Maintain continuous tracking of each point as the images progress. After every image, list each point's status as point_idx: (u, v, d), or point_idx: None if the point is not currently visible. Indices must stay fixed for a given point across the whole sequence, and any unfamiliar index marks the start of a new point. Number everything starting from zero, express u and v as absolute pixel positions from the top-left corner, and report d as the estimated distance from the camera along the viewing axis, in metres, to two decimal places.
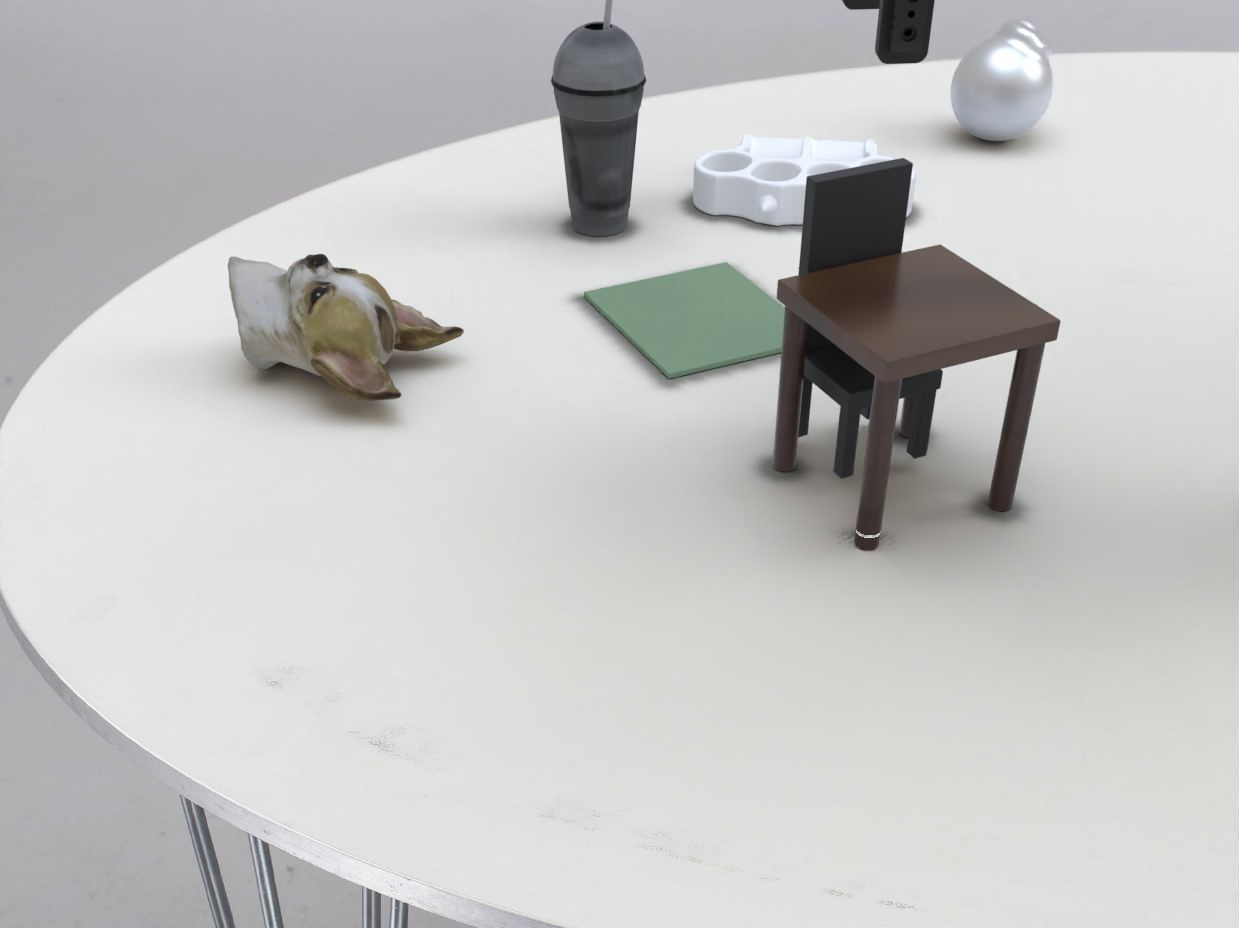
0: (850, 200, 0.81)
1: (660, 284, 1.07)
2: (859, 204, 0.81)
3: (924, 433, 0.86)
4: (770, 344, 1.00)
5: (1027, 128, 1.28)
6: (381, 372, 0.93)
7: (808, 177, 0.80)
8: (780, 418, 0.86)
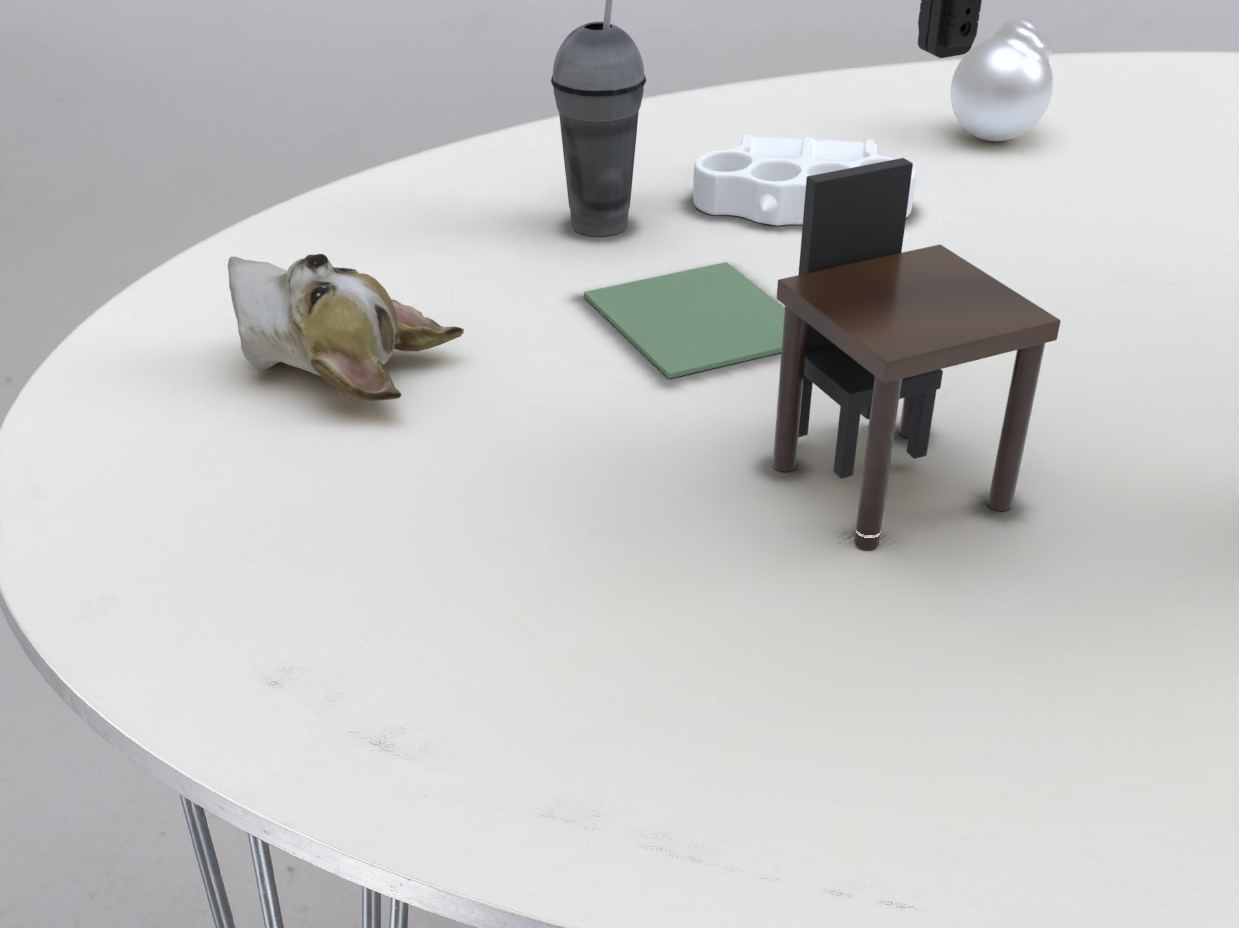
0: (850, 200, 0.81)
1: (660, 284, 1.07)
2: (859, 204, 0.81)
3: (924, 433, 0.86)
4: (770, 344, 1.00)
5: (1027, 128, 1.28)
6: (381, 372, 0.93)
7: (808, 177, 0.80)
8: (780, 418, 0.86)
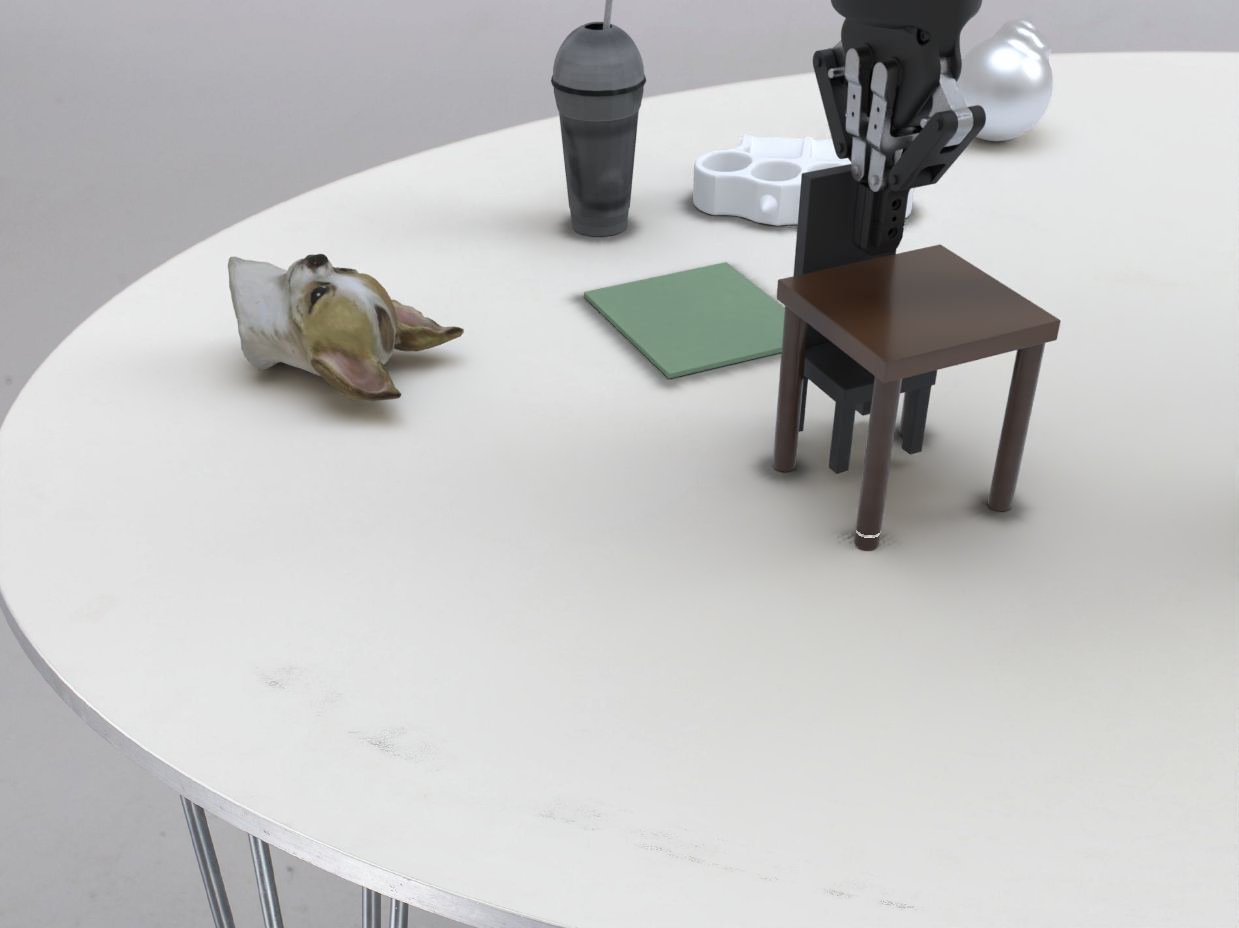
0: (845, 197, 0.81)
1: (660, 284, 1.07)
2: (854, 201, 0.81)
3: (919, 429, 0.87)
4: (770, 344, 1.00)
5: (1027, 128, 1.28)
6: (381, 372, 0.93)
7: (803, 174, 0.80)
8: (780, 418, 0.86)
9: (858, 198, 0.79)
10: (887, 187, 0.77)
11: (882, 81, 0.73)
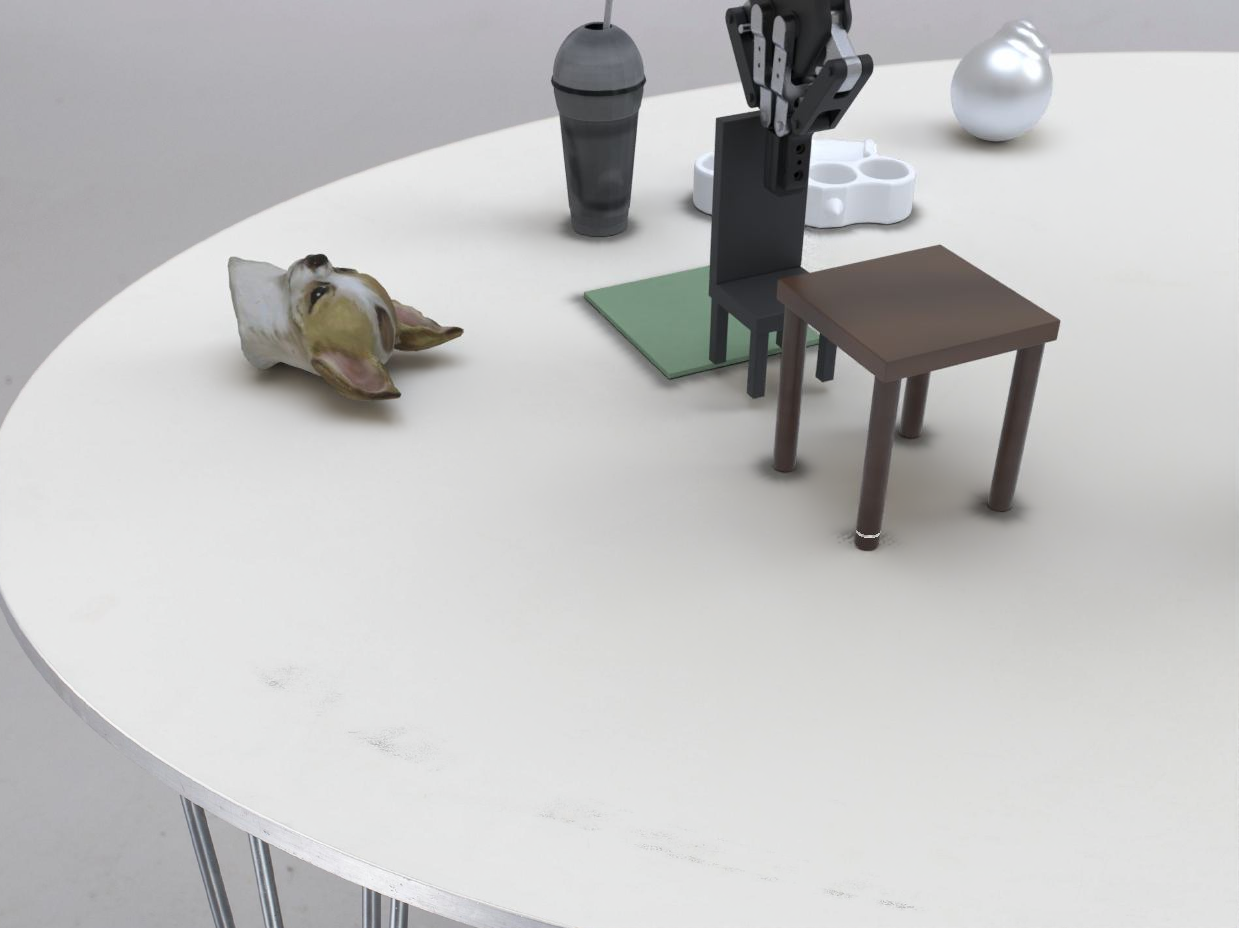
0: (756, 140, 0.88)
1: (660, 284, 1.07)
2: (765, 144, 0.89)
3: (830, 358, 0.94)
4: (770, 344, 1.00)
5: (1027, 128, 1.28)
6: (381, 372, 0.93)
7: (717, 118, 0.87)
8: (780, 418, 0.86)
9: (767, 144, 0.86)
10: (791, 132, 0.84)
11: (781, 33, 0.80)
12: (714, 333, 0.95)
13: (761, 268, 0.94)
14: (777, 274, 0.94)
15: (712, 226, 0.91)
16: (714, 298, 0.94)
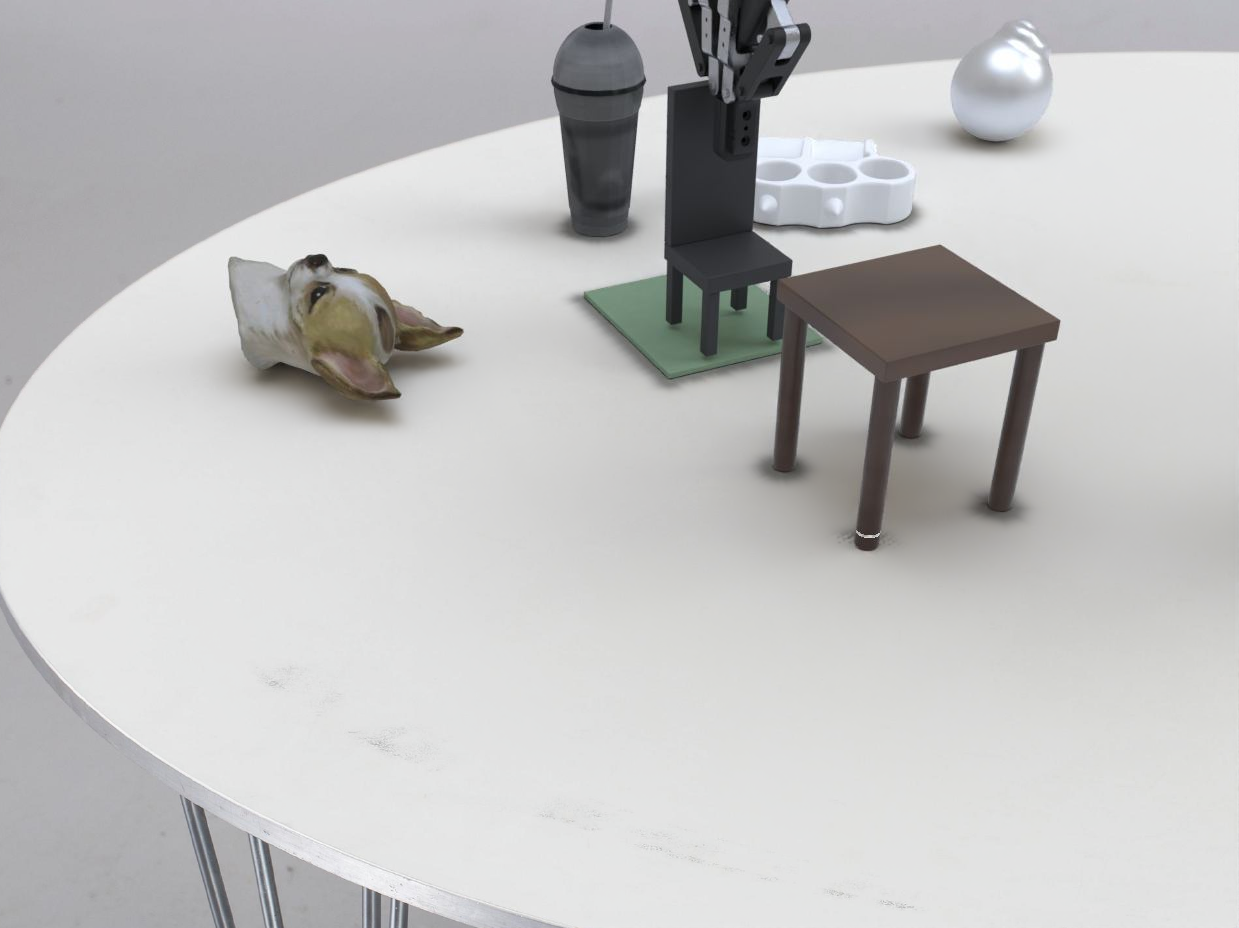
0: (706, 108, 0.93)
1: (660, 284, 1.07)
2: None
3: (780, 317, 0.98)
4: (770, 344, 1.00)
5: (1027, 128, 1.28)
6: (381, 372, 0.93)
7: (669, 87, 0.92)
8: (780, 418, 0.86)
9: (715, 111, 0.91)
10: (737, 99, 0.89)
11: (725, 4, 0.85)
12: (670, 295, 1.00)
13: (714, 232, 0.98)
14: (729, 238, 0.99)
15: (666, 191, 0.96)
16: (669, 260, 0.98)
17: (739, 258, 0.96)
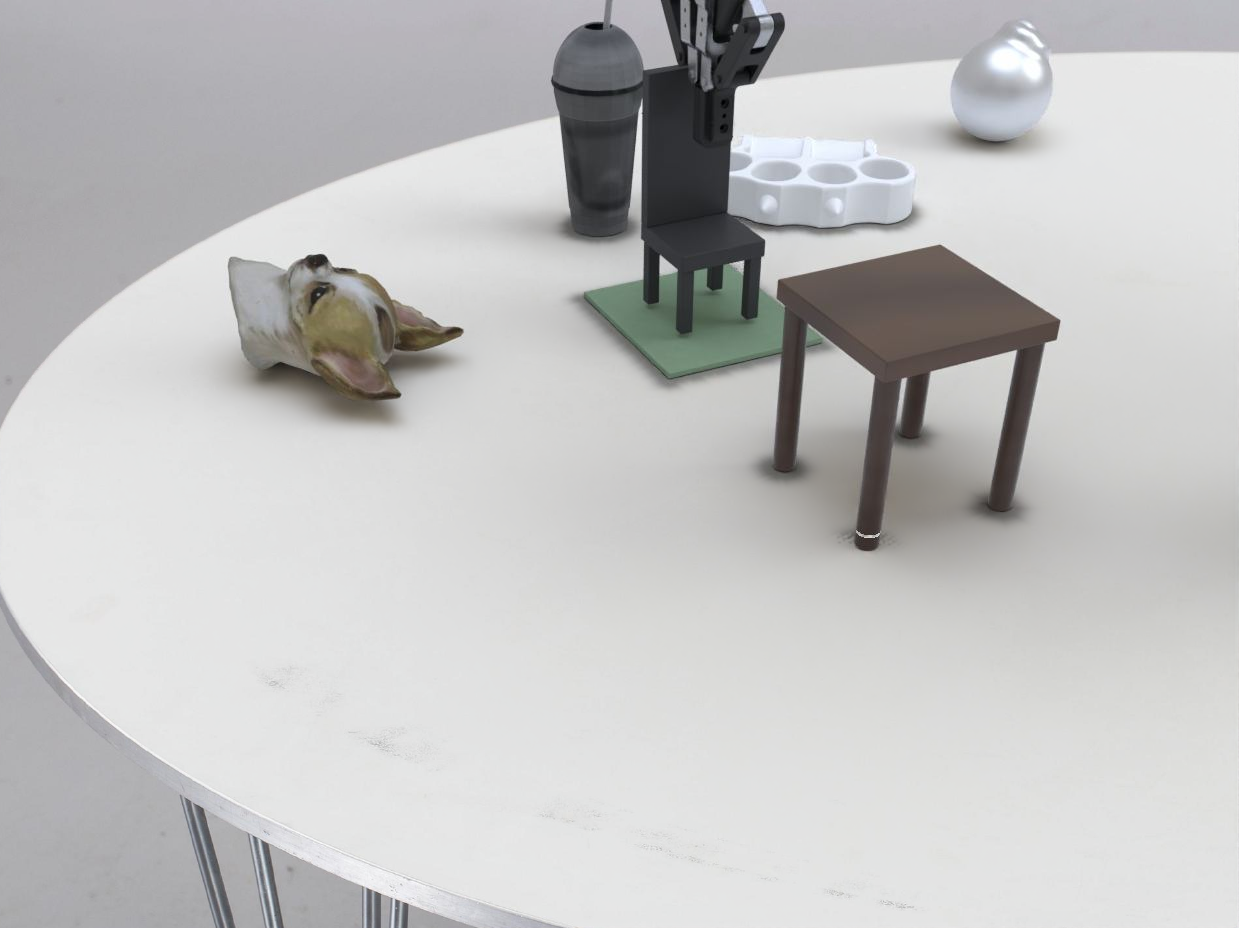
0: (681, 91, 0.95)
1: (660, 284, 1.07)
2: (689, 95, 0.96)
3: (754, 296, 1.01)
4: (770, 344, 1.00)
5: (1027, 128, 1.28)
6: (381, 372, 0.93)
7: (644, 71, 0.94)
8: (780, 418, 0.86)
9: (695, 99, 0.93)
10: (715, 87, 0.91)
11: None
12: (647, 275, 1.03)
13: (689, 213, 1.01)
14: (704, 219, 1.01)
15: (642, 173, 0.98)
16: (646, 241, 1.01)
17: (713, 239, 0.99)
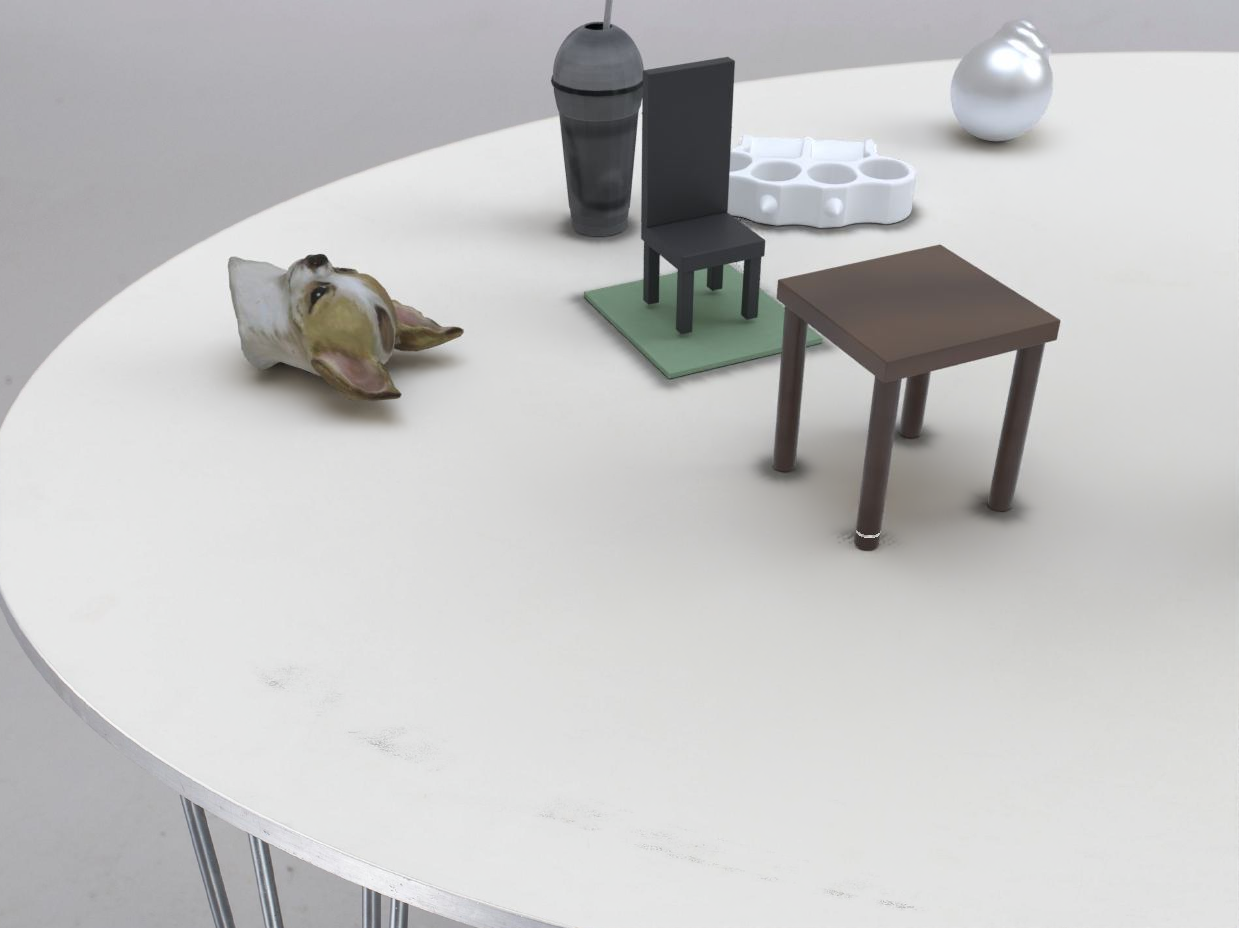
0: (681, 91, 0.95)
1: (660, 284, 1.07)
2: (689, 95, 0.96)
3: (754, 296, 1.01)
4: (770, 344, 1.00)
5: (1027, 128, 1.28)
6: (381, 372, 0.93)
7: (644, 71, 0.94)
8: (780, 418, 0.86)
9: None
10: None
11: None
12: (647, 275, 1.03)
13: (689, 213, 1.01)
14: (704, 219, 1.01)
15: (642, 173, 0.98)
16: (646, 241, 1.01)
17: (713, 239, 0.99)
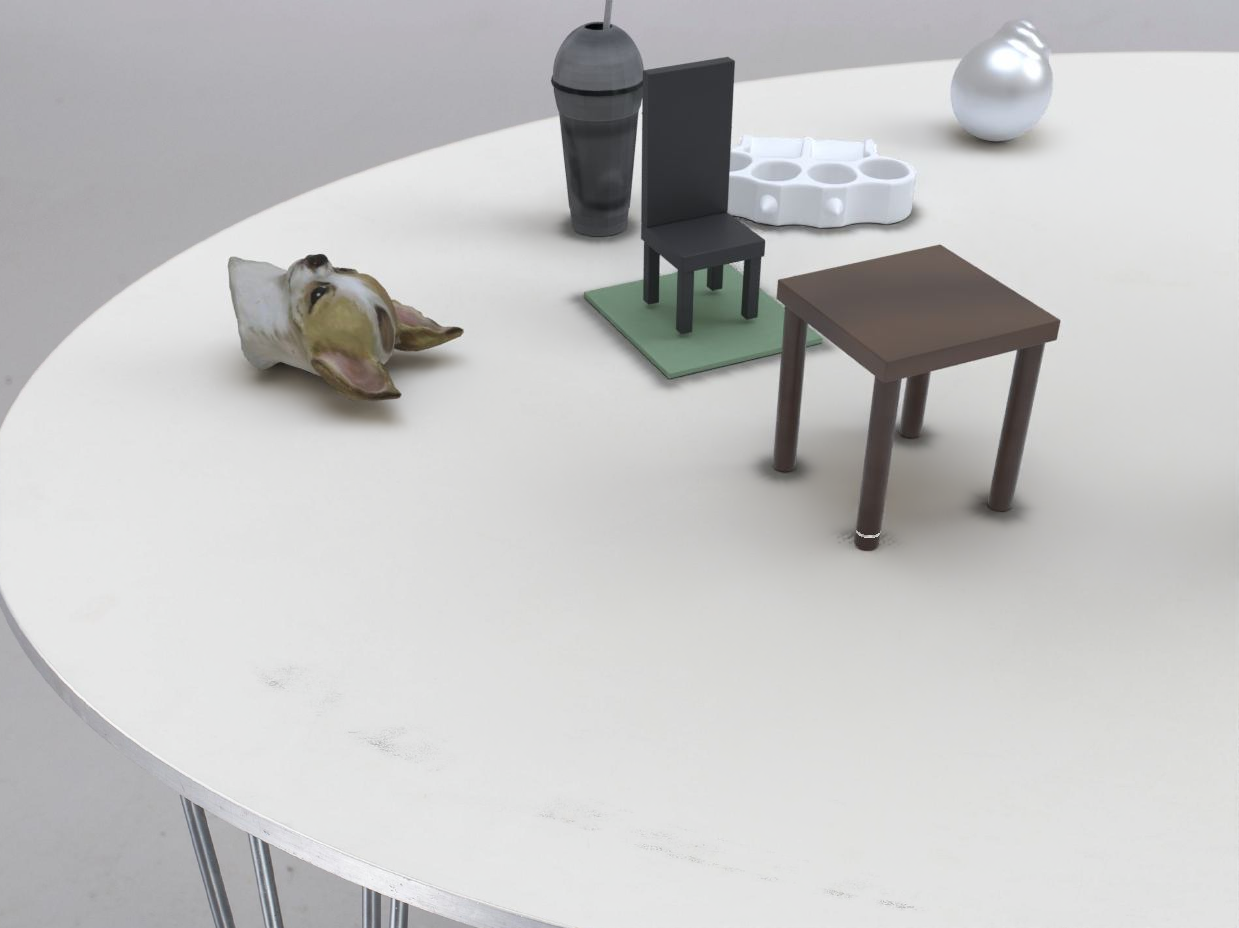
0: (681, 91, 0.95)
1: (660, 284, 1.07)
2: (689, 95, 0.96)
3: (754, 296, 1.01)
4: (770, 344, 1.00)
5: (1027, 128, 1.28)
6: (381, 372, 0.93)
7: (644, 71, 0.94)
8: (780, 418, 0.86)
9: None
10: None
11: None
12: (647, 275, 1.03)
13: (689, 213, 1.01)
14: (704, 219, 1.01)
15: (642, 173, 0.98)
16: (646, 241, 1.01)
17: (713, 239, 0.99)
